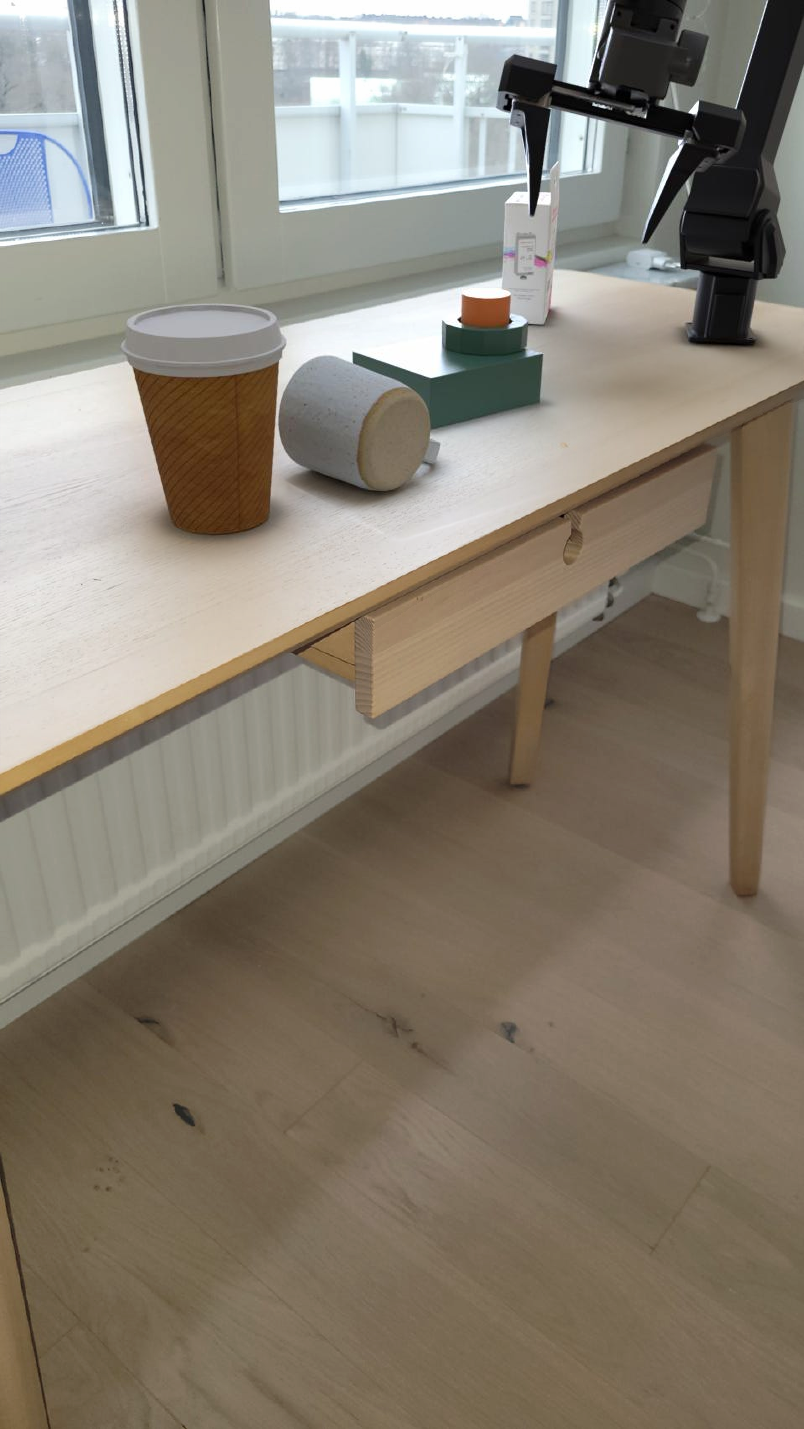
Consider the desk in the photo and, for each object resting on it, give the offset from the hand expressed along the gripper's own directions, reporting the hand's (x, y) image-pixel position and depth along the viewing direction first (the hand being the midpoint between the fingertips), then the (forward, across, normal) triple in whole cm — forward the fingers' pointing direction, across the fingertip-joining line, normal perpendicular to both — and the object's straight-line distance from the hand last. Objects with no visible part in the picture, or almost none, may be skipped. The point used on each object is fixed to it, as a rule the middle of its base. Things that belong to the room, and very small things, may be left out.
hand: (587, 230), depth 85 cm
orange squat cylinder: (+9, -6, +1) cm, 11 cm away
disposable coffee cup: (+25, -20, -25) cm, 40 cm away
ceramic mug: (+21, -12, -17) cm, 29 cm away
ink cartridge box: (+5, -2, +31) cm, 32 cm away
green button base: (+15, -8, 0) cm, 17 cm away
